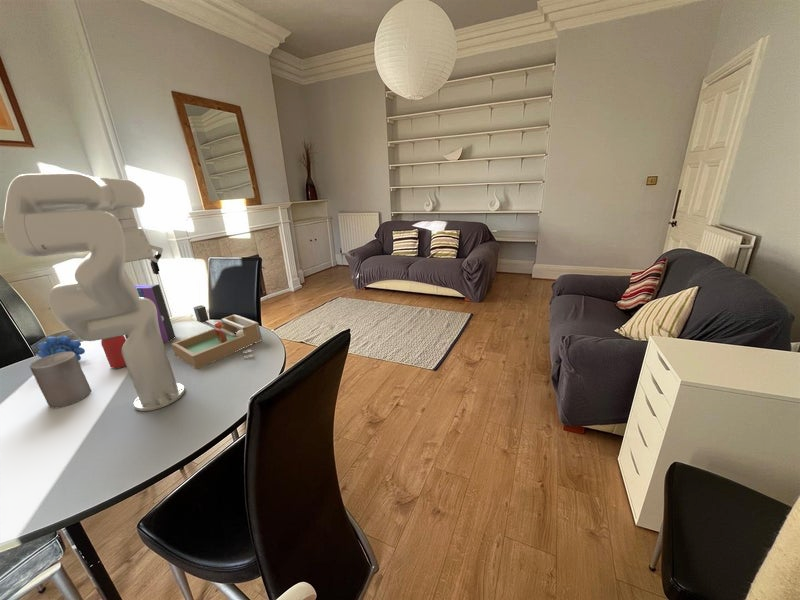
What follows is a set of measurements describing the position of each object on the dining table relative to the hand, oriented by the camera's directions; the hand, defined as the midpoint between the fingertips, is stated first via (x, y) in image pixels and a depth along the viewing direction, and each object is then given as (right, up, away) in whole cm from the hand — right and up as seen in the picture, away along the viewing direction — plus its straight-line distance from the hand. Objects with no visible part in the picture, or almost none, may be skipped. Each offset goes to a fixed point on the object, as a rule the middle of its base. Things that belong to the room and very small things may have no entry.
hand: (139, 277), depth 109 cm
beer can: (-15, -31, +11) cm, 36 cm away
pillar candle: (-15, -38, -8) cm, 42 cm away
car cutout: (+33, -30, +9) cm, 45 cm away
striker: (+15, -23, +21) cm, 35 cm away
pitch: (+17, -26, +20) cm, 37 cm away
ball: (+22, -22, +26) cm, 40 cm away
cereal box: (-18, -25, +30) cm, 43 cm away
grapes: (-36, -32, +12) cm, 50 cm away
